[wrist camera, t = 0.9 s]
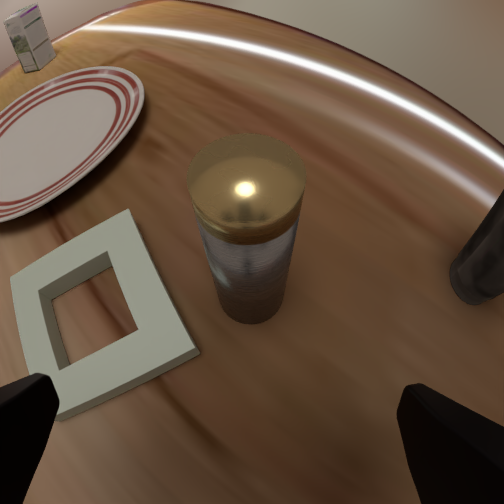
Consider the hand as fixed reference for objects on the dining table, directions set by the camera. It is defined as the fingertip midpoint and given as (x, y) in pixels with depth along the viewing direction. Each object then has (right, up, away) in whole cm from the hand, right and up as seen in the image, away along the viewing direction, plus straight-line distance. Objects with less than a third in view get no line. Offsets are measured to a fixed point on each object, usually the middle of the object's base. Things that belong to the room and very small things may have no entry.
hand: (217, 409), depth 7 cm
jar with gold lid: (+1, +1, +15) cm, 15 cm away
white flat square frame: (-11, -1, +14) cm, 18 cm away
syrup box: (-43, +42, +39) cm, 71 cm away
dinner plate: (-24, +17, +25) cm, 39 cm away
